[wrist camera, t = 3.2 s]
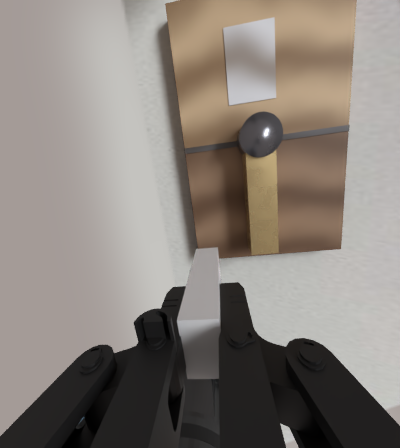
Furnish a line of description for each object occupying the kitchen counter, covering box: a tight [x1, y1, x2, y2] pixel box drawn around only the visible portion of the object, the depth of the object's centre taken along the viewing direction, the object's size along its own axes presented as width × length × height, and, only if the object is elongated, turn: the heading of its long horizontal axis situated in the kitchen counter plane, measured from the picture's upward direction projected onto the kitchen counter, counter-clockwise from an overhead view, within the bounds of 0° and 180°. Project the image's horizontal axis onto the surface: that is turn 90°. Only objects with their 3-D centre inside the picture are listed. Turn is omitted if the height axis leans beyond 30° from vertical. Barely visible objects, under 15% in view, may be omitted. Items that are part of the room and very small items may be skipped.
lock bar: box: [237, 111, 283, 255], centre depth 21 cm, size 14×4×3 cm, turn 7°
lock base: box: [165, 0, 357, 258], centre depth 22 cm, size 28×18×2 cm, turn 7°
